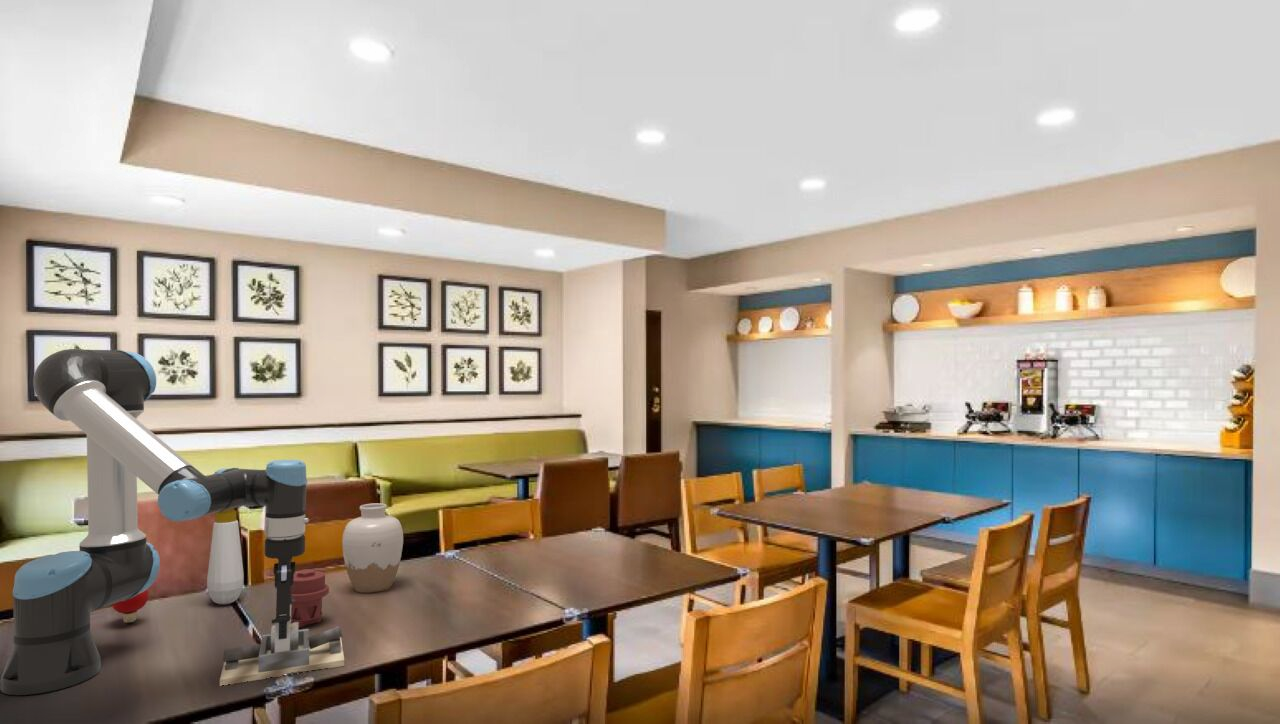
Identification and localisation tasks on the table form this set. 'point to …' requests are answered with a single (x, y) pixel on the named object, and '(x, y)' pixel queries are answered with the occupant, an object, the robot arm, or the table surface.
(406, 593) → the table surface
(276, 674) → the shaft bench
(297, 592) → the mechanical component
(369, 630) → the table surface
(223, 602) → the soap bottle
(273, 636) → the block
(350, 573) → the vase
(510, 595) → the table surface
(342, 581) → the table surface
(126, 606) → the red mushroom
